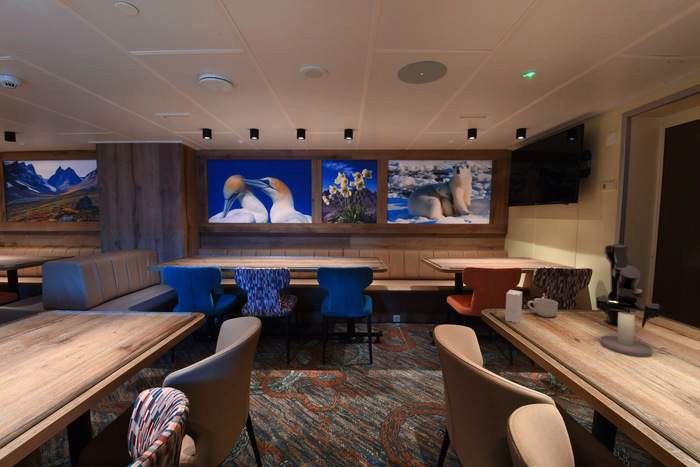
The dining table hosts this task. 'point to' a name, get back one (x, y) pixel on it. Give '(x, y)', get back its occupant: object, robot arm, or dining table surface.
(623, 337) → the canister
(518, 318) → the skincare box
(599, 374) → the dining table surface
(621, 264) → the robot arm
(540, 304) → the teacup
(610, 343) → the grey-brown round disc
